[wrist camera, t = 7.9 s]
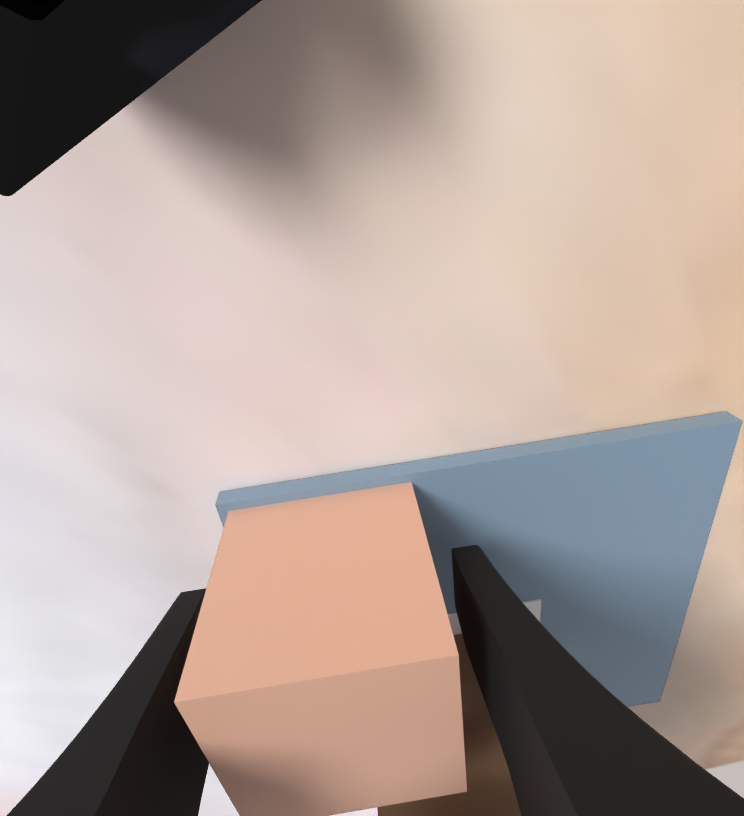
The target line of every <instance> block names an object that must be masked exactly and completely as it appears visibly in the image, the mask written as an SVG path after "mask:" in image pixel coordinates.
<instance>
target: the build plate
mask: <svg viewBox="0 0 744 816" xmlns="http://www.w3.org/2000/svg"><path fill="white" fill-rule="evenodd" d="M260 1H261V0H0V194H1V195H4V196H11V195H13V194H14V193H15V192H17V191H18V190H19V189H21V188H22V187H23V186H24V185H26V184H27V183H28V182H29V181H31V180H32V179H33V178H35V177H36V176H37V175H38V174H40V173H41V172H42V171H44V170H45V169H46V168H47V167H49V166H50V165H51V164H53V163H54V162H55V161H56V160H58V159H59V158H60V157H62V156H63V155H64V154H65V153H67V152H68V151H69V150H70V149H72V148H73V147H74V146H76V145H77V144H78V143H79V142H81V141H82V140H83V139H85V138H86V137H87V136H88V135H90V134H91V133H92V132H94V131H95V130H96V129H97V128H99V127H100V126H101V125H102V124H104V123H105V122H106V121H108V120H109V119H110V118H111V117H113V116H114V115H115V114H117V113H118V112H119V111H120V110H122V109H123V108H124V107H126V106H127V105H128V104H129V103H131V102H132V101H133V100H135V99H136V98H137V97H138V96H140V95H141V94H142V93H143V92H145V91H146V90H147V89H149V88H150V87H151V86H152V85H154V84H155V83H156V82H158V81H159V80H160V79H161V78H163V77H164V76H165V75H167V74H168V73H169V72H170V71H172V70H173V69H174V68H175V67H177V66H178V65H179V64H181V63H182V62H183V61H184V60H186V59H187V58H188V57H190V56H191V55H192V54H193V53H195V52H196V51H197V50H199V49H200V48H201V47H202V46H204V45H205V44H206V43H208V42H209V41H210V40H211V39H213V38H214V37H215V36H216V35H218V34H219V33H220V32H222V31H223V30H224V29H225V28H227V27H228V26H229V25H231V24H232V23H233V22H234V21H236V20H237V19H238V18H240V17H241V16H242V15H243V14H245V13H246V12H247V11H249V10H250V9H251V8H252V7H254V6H255V5H256V4H257V3H259V2H260Z"/></svg>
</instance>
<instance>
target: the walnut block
mask: <svg viewBox="0 0 744 816" xmlns="http://www.w3.org/2000/svg"><path fill="white" fill-rule="evenodd" d="M453 636H454V640H455V643H456V647H457V651H458V654H459V669H460V685H461V701H462V717H463V734H464V750H465V766H466V782H467V792H462V793H456V794H451V795H445V796H439V797H433V798H427V799H422V800H416V801H410V802H404V803H398V804H393V805H387V806H381V807H378V816H521V812H520V808H519V805H518V801H517V798H516V794H515V790H514V787H513V783H512V780H511V776H510V772H509V769H508V766H507V763H506V760H505V757H504V754H503V751H502V748H501V745H500V742H499V739H498V737H497V734H496V731H495V728H494V726H493V723H492V720H491V717H490V714H489V712H488V709H487V706H486V703H485V701H484V698H483V695H482V692H481V690H480V687H479V684H478V681H477V678H476V676H475V673H474V670H473V667H472V664H471V662H470V659H469V656H468V653H467V650H466V647H465V643H464V639H463V636H462V634H456V635H453Z"/></svg>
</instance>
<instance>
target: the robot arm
mask: <svg viewBox="0 0 744 816" xmlns="http://www.w3.org/2000/svg"><path fill="white" fill-rule="evenodd" d="M451 551H452V567H453V583H454V599H455V608H456V612H457V616H458V620H459V624H460V628H461V632H462V636H463V639H464V643H465V647H466V650H467V653H468V656H469V659H470V662H471V664H472V667H473V670H474V673H475V676H476V678H477V681H478V684H479V687H480V690H481V692H482V695H483V698H484V701H485V703H486V706H487V709H488V712H489V714H490V717H491V720H492V723H493V726H494V728H495V731H496V734H497V737H498V739H499V742H500V745H501V748H502V751H503V754H504V757H505V760H506V763H507V766H508V769H509V772H510V776H511V780H512V783H513V787H514V790H515V794H516V798H517V801H518V805H519V808H520V812H521V816H744V798H742V797H741V796H739V795H738V794H737V793H735V792H734V791H733V790H731V789H730V788H729V787H727V786H726V785H724V784H723V783H722V782H721V781H719V780H718V779H717V778H715V777H714V776H712V775H711V774H710V773H708V772H707V771H706V770H705V769H703V768H702V767H701V766H699V765H698V764H697V763H695V762H694V761H693V760H691V759H690V758H689V757H688V756H687V755H685V754H684V753H683V752H682V751H680V750H679V749H678V748H677V747H675V746H674V745H673V744H672V743H670V742H669V741H668V740H667V739H665V738H664V737H663V736H662V735H660V734H659V733H658V732H657V731H655V730H654V729H653V728H652V727H650V726H649V725H648V724H647V723H645V722H644V721H643V720H642V719H640V718H639V717H638V716H637V715H636V714H635V713H633V712H632V711H631V710H630V709H629V708H628V707H627V706H625V705H624V704H623V703H622V702H621V701H620V700H619V699H617V698H616V697H615V696H614V695H613V694H612V693H611V692H610V691H609V690H607V689H606V688H605V687H604V686H603V685H602V684H601V683H600V682H599V681H598V680H597V679H595V678H594V677H593V676H592V675H591V674H590V673H589V672H588V671H587V670H586V669H585V668H584V667H583V666H582V665H581V664H580V663H579V662H578V661H577V660H576V659H575V658H574V657H573V656H572V655H571V654H570V653H569V652H568V651H567V650H566V649H565V648H564V647H563V646H562V645H561V644H560V643H559V642H558V641H557V640H556V639H555V638H554V637H553V636H552V635H551V634H550V633H549V631H548V630H547V629H546V628H545V627H544V626H543V625H542V624H541V623H540V622H539V621H538V619H537V618H536V617H535V616H534V615H533V614H532V613H531V611H530V610H529V609H528V608H527V607H526V606H525V605H524V603H523V602H522V601H521V600H520V599H519V598H518V596H517V595H516V594H515V593H514V592H513V590H512V589H511V588H510V587H509V585H508V584H507V583H506V582H505V580H504V579H503V578H502V577H501V575H500V574H499V573H498V571H497V570H496V569H495V567H494V566H493V565H492V563H491V562H490V561H489V559H488V558H487V556H486V555H485V553H484V552H483V550H482V549H481V547H479V546H477V545H471V546H465V547H458V548H452V549H451ZM205 592H206V589H200V590H193V591H187V592H181V593H180V595H179V596H178V597H177V599H176V600H175V602H174V603H173V604H172V606H171V607H170V609H169V610H168V612H167V613H166V615H165V616H164V617H163V619H162V620H161V622H160V623H159V625H158V626H157V628H156V629H155V631H154V632H153V633H152V635H151V636H150V638H149V639H148V641H147V642H146V643H145V645H144V646H143V648H142V649H141V651H140V652H139V653H138V655H137V656H136V658H135V659H134V660H133V662H132V663H131V665H130V666H129V667H128V669H127V670H126V671H125V673H124V674H123V676H122V677H121V678H120V680H119V681H118V683H117V684H116V685H115V687H114V688H113V689H112V691H111V692H110V693H109V695H108V696H107V697H106V699H105V700H104V701H103V702H102V704H101V705H100V706H99V708H98V709H97V710H96V711H95V713H94V714H93V715H92V717H91V718H90V719H89V720H88V722H87V723H86V724H85V726H84V727H83V728H82V729H81V731H80V732H79V733H78V734H77V736H76V737H75V738H74V739H73V741H72V742H71V743H70V744H69V745H68V747H67V748H66V749H65V750H64V752H63V753H62V754H61V755H60V756H59V757H58V759H57V760H56V761H55V762H54V763H53V765H52V766H51V767H50V768H49V769H48V770H47V771H46V773H45V774H44V775H43V776H42V777H41V778H40V780H39V781H38V782H37V783H36V784H35V785H34V786H33V788H32V789H31V790H30V791H29V792H28V793H27V794H26V795H25V796H24V798H23V799H22V800H21V801H20V802H19V803H18V804H17V805H16V806H15V807H14V808H13V809H12V811H11V812H10V813H9V814H8V815H7V816H198V812H199V807H200V802H201V797H202V792H203V788H204V783H205V779H206V774H207V770H208V765H209V762H208V760H207V758H206V757H205V755H204V753H203V751H202V750H201V748H200V746H199V745H198V743H197V741H196V739H195V738H194V736H193V734H192V732H191V731H190V729H189V727H188V726H187V724H186V722H185V720H184V719H183V717H182V715H181V713H180V712H179V710H178V708H177V707H176V705H175V703H174V700H175V697H176V693H177V690H178V686H179V683H180V679H181V676H182V672H183V669H184V665H185V662H186V658H187V655H188V651H189V648H190V644H191V641H192V637H193V634H194V630H195V627H196V623H197V620H198V616H199V613H200V609H201V606H202V602H203V599H204V595H205Z"/></svg>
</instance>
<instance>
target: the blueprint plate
mask: <svg viewBox="0 0 744 816" xmlns="http://www.w3.org/2000/svg"><path fill="white" fill-rule="evenodd" d="M741 425H742V420H740V419H739V418H737V417H735V416H734V415H732V414H730V413H729V412H727V411H726V412H720V413H713V414H707V415H701V416H694V417H688V418H682V419H676V420H669V421H663V422H657V423H650V424H644V425H638V426H631V427H625V428H619V429H612V430H606V431H600V432H594V433H587V434H581V435H575V436H568V437H562V438H556V439H549V440H543V441H537V442H530V443H524V444H518V445H511V446H505V447H499V448H493V449H486V450H480V451H474V452H467V453H461V454H455V455H448V456H442V457H436V458H429V459H423V460H417V461H411V462H404V463H398V464H392V465H385V466H379V467H373V468H366V469H360V470H354V471H347V472H341V473H335V474H329V475H322V476H316V477H310V478H303V479H297V480H291V481H284V482H278V483H272V484H265V485H259V486H253V487H247V488H240V489H234V490H228V491H221V492H219V495H218V498H217V501H216V504H215V505H216V508H217V511H218V513H219V516H220V519H221V521H222V524H223V527H224V525H225V522H226V518H227V515H228V511H232V510H239V509H245V508H251V507H258V506H264V505H270V504H276V503H283V502H289V501H295V500H301V499H308V498H314V497H320V496H327V495H333V494H339V493H345V492H352V491H358V490H364V489H370V488H377V487H383V486H389V485H396V484H402V483H408V482H412V486H413V489H414V493H415V497H416V500H417V504H418V508H419V511H420V515H421V519H422V522H423V526H424V530H425V533H426V537H427V541H428V544H429V548H430V552H431V555H432V559H433V563H434V566H435V570H436V574H437V577H438V581H439V585H440V588H441V592H442V596H443V599H444V603H445V607H446V610H447V614H448V618H449V621H450V625H451V629H452V632H453V635H456V634H462V632H461V628H460V624H459V620H458V616H457V612H456V608H455V599H454V583H453V567H452V551H451V549H452V548H458V547H465V546H471V545H477V546H479V547H481V549H482V550H483V552H484V553H485V555H486V556H487V558H488V559H489V561H490V562H491V563H492V565H493V566H494V567H495V569H496V570H497V571H498V573H499V574H500V575H501V577H502V578H503V579H504V580H505V582H506V583H507V584H508V585H509V587H510V588H511V589H512V590H513V592H514V593H515V594H516V595H517V596H518V598H519V599H520V600H521V601H522V602H523V603H524V605H525V606H526V607H527V608H528V609H529V610H530V611H531V613H532V614H533V615H534V616H535V617H536V618H537V619H538V621H539V622H540V623H541V624H542V625H543V626H544V627H545V628H546V629H547V630H548V631H549V633H550V634H551V635H552V636H553V637H554V638H555V639H556V640H557V641H558V642H559V643H560V644H561V645H562V646H563V647H564V648H565V649H566V650H567V651H568V652H569V653H570V654H571V655H572V656H573V657H574V658H575V659H576V660H577V661H578V662H579V663H580V664H581V665H582V666H583V667H584V668H585V669H586V670H587V671H588V672H589V673H590V674H591V675H592V676H593V677H594V678H595V679H597V680H598V681H599V682H600V683H601V684H602V685H603V686H604V687H605V688H606V689H607V690H609V691H610V692H611V693H612V694H613V695H614V696H615V697H616V698H617V699H619V700H620V701H621V702H622V703H623V704H624V705H625V706H633V705H639V704H645V703H651V702H657V701H660V699H661V696H662V692H663V689H664V686H665V682H666V679H667V676H668V672H669V669H670V665H671V662H672V659H673V655H674V652H675V648H676V645H677V642H678V638H679V635H680V631H681V628H682V625H683V621H684V618H685V615H686V611H687V608H688V604H689V601H690V598H691V594H692V591H693V587H694V584H695V581H696V577H697V574H698V570H699V567H700V564H701V560H702V557H703V553H704V550H705V547H706V543H707V540H708V537H709V533H710V530H711V526H712V523H713V520H714V516H715V513H716V509H717V506H718V503H719V499H720V496H721V492H722V489H723V486H724V482H725V479H726V476H727V472H728V469H729V465H730V462H731V459H732V455H733V452H734V448H735V445H736V442H737V438H738V435H739V431H740V428H741Z"/></svg>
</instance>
